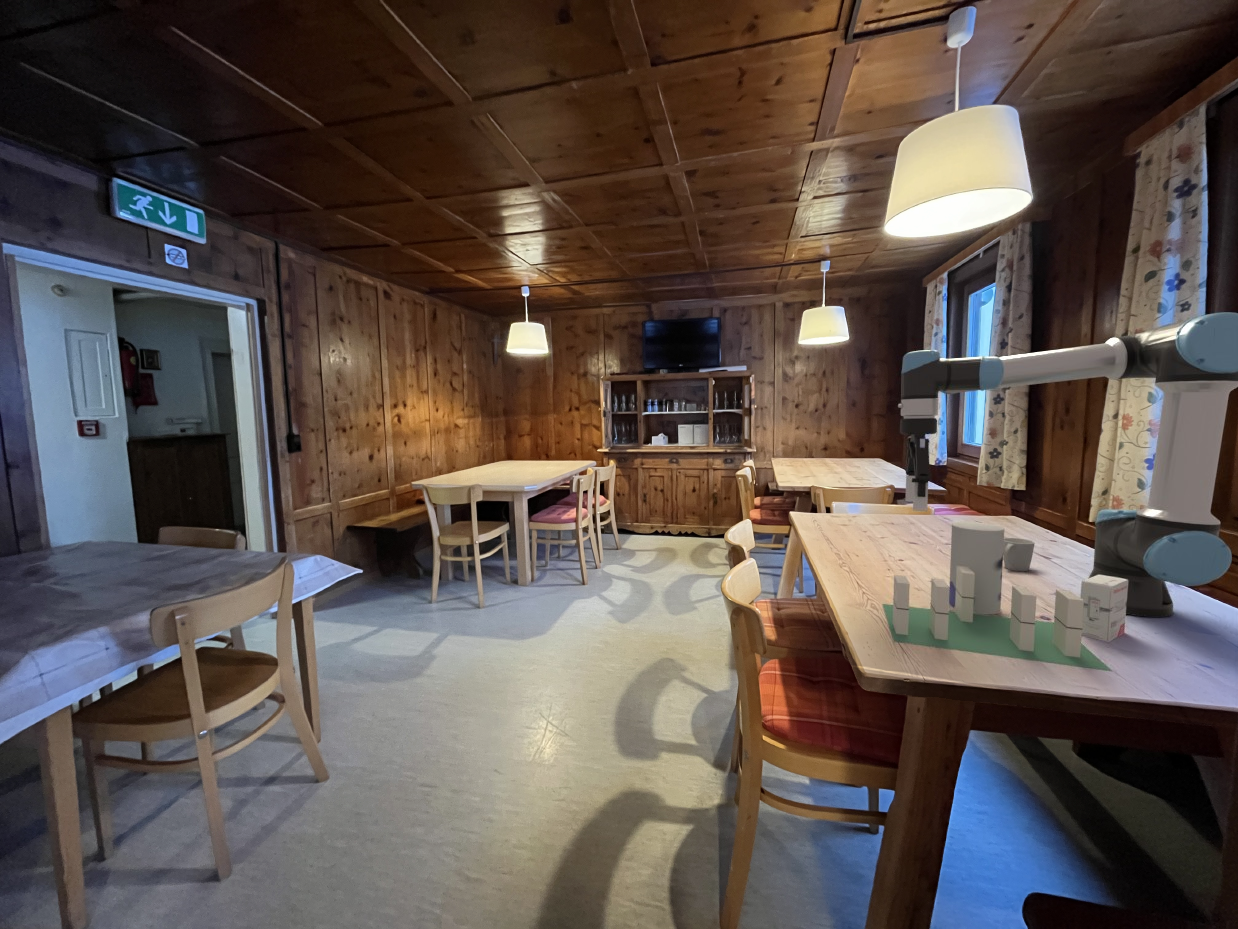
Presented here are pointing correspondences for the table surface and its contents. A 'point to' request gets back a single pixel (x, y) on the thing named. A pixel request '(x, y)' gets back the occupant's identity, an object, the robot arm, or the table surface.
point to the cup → (1018, 553)
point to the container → (978, 562)
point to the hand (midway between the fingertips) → (915, 505)
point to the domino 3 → (964, 593)
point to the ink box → (1104, 607)
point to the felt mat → (988, 638)
